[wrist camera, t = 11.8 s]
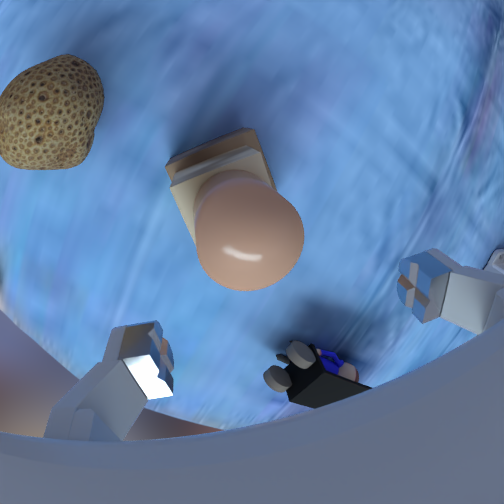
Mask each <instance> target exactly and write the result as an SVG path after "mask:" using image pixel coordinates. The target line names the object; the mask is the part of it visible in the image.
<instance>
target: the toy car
mask: <svg viewBox="0 0 504 504" xmlns="http://www.w3.org/2000/svg"><path fill="white" fill-rule="evenodd" d="M290 343H291V344H290V345H289V346H288V347H287V348H286V354H287V356H288V357H289V358H287V357H285V356H283V355H281V354H279V355H276V357H277V360H280V361H282V362H284V363H286V364H289V365H288V366H287V367H286V368H284V369H283V368H281V367H279V366H275V365H273V366H271V367H270V368H269V369H267V370H266V371H265V372H264V374H263V377H264V380H265V382H266V383H267V385H268V386H269V387H270V388H272V389H273V390H275V391H277V392H285V391H286V392H287V395H288V398H289V401H290V402H293V403H297V404H300V405H303V406H307V407H311V408H314V409H316V408H319V407H322V406H325V405H328V404H331V403H334V402H337V401H340V400H343V399H346V398H348V397H351V396H354V395H356V394H359V393H362V392H364V391H367V390H369V389H372V388H371V387H368V386H366V385H363V384H360V383H358V381H359V374H358V371H357V369H356V368H355V367H354V366H353V365H351V364H349V363H345V362H344V361H343V360H339V359H338V357H337V355H336V353H334V352H330V351H325V350H320V349H316V348H315V346H314V345H313V344H310V345H309V346H306V345H305V344H304V343H302V342H300V341H295V340H294V341H290ZM320 355H323V356H328V357H332V358H333V360H334V361H335V363H334V362H332V361H330V360H327V359H325V358H323V357H321V356H320Z"/></svg>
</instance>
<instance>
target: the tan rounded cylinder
mask: <svg viewBox="0 0 504 504" xmlns="http://www.w3.org/2000/svg"><path fill="white" fill-rule="evenodd" d="M193 216H194V228H195V238H196V248H197V254H198V258H199V261H200V264H201V266H202V267H203V269H204V271H205V272H206V273H207V275H208V276H209V277H210V278H211V279H213V280H214V281H215V282H217V283H218V284H220V285H222V286H224V287H226V288H229V289H233V290H239V291H253V290H258V289H262V288H265V287H268V286H270V285H272V284H274V283H276V282H278V281H279V280H281V279H282V278H283V277H284V276H285V275H287V274H288V273H289V272H290V270H291V269H292V268H293V267H294V265H295V264H296V262H297V261H298V259H299V257H300V254H301V252H302V248H303V244H304V228H303V224H302V220H301V218H300V216H299V214H298V212H297V211H296V209H295V208H294V207H293V206H292V204H291V203H290V202H288V201H287V200H286V199H285V198H284V197H283V196H281V195H280V194H279V193H278V192H277V191H275V190H274V189H273V188H272V187H271V186H269V185H268V184H267V183H266V182H264V181H263V180H262V179H261V178H259V177H258V176H257V175H255V174H253V173H251V172H248V171H244V170H238V169H236V170H226V171H223V172H220V173H218V174H215V175H214V176H212V177H211V178H209V179H208V180H207V181H206V182H205V183H204V184H203V185H202V186H201V188H200V189H199V191H198V193H197V195H196V197H195V200H194V205H193Z"/></svg>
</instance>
